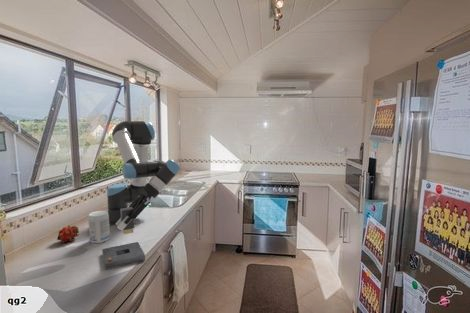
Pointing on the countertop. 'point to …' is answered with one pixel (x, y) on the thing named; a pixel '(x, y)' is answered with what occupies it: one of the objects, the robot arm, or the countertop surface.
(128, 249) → the socket plate
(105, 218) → the supplement tub
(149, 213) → the countertop surface
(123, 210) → the plug
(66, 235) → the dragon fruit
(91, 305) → the countertop surface
